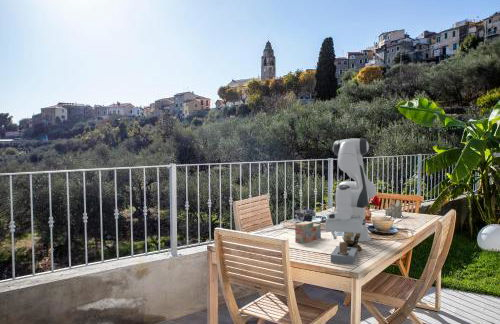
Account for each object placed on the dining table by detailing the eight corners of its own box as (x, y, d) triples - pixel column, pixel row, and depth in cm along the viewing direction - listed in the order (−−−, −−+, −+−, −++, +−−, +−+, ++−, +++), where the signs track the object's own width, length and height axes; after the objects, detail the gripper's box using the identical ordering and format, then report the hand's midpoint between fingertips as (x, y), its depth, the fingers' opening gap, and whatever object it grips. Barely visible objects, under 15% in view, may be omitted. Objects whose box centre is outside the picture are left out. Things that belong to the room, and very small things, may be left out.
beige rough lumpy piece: (346, 245, 252) (347, 218, 252) (365, 248, 246) (365, 220, 245) (336, 251, 237) (336, 223, 237) (355, 254, 231) (356, 225, 230)
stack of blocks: (313, 236, 276) (313, 219, 276) (320, 237, 272) (321, 220, 272) (295, 242, 261) (295, 223, 260) (303, 243, 256) (303, 225, 256)
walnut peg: (339, 259, 222) (339, 241, 221) (347, 260, 220) (347, 242, 219) (338, 261, 218) (338, 243, 217) (346, 262, 216) (346, 244, 215)
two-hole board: (336, 252, 235) (336, 245, 235) (357, 254, 230) (357, 247, 230) (330, 262, 216) (330, 254, 216) (353, 264, 212) (353, 257, 212)
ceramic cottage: (399, 214, 358) (398, 198, 357) (405, 218, 342) (404, 201, 340) (381, 215, 359) (380, 199, 358) (386, 219, 343) (385, 202, 341)
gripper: (363, 214, 217) (363, 239, 218) (326, 212, 224) (326, 237, 225) (362, 217, 211) (362, 242, 212) (324, 215, 218) (324, 239, 219)
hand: (343, 239), depth 218 cm, fingers open, 8 cm apart
